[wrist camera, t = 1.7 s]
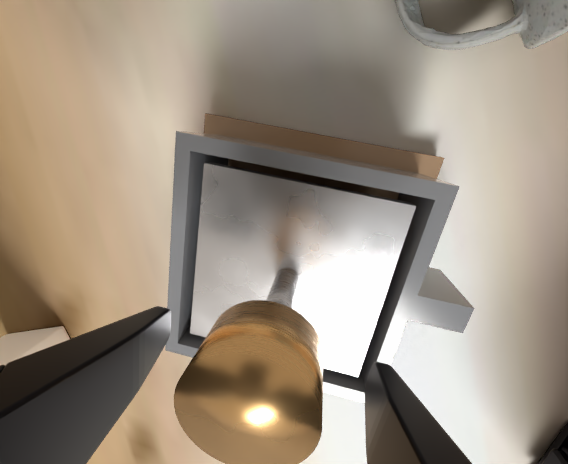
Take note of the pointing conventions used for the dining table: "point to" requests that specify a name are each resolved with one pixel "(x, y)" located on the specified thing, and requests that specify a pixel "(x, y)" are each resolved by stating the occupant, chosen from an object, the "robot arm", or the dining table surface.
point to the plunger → (280, 307)
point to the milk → (29, 342)
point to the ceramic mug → (527, 22)
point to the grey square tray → (336, 173)
